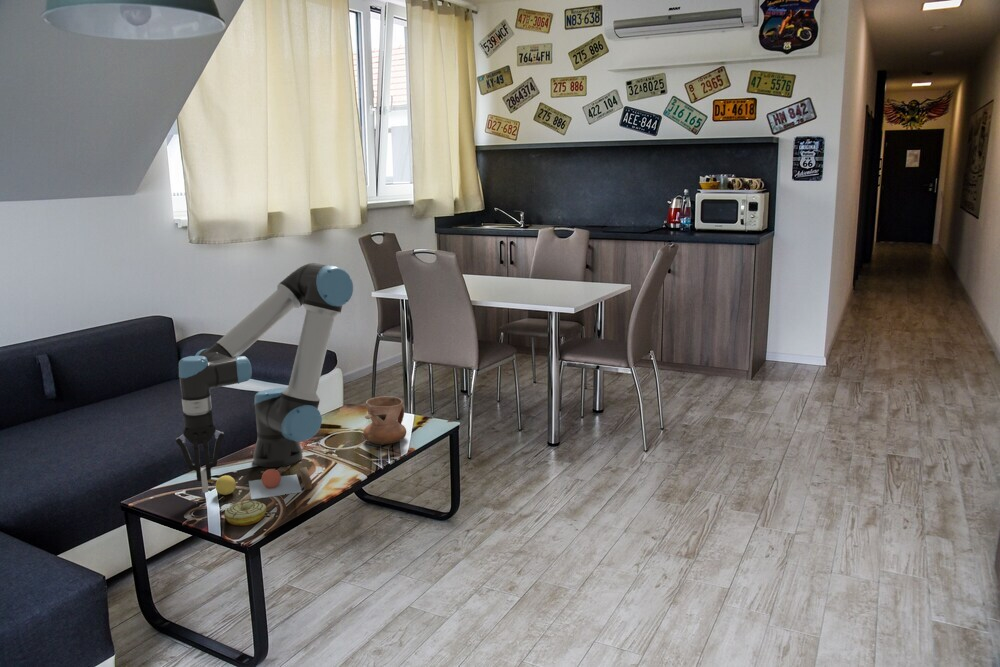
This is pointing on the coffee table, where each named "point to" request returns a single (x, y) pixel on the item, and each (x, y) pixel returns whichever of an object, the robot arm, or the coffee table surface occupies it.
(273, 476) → the object ball
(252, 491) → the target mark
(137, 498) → the coffee table surface
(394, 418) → the ceramic jug
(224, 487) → the yellow ball
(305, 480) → the stopper strip
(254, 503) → the decorated donut
